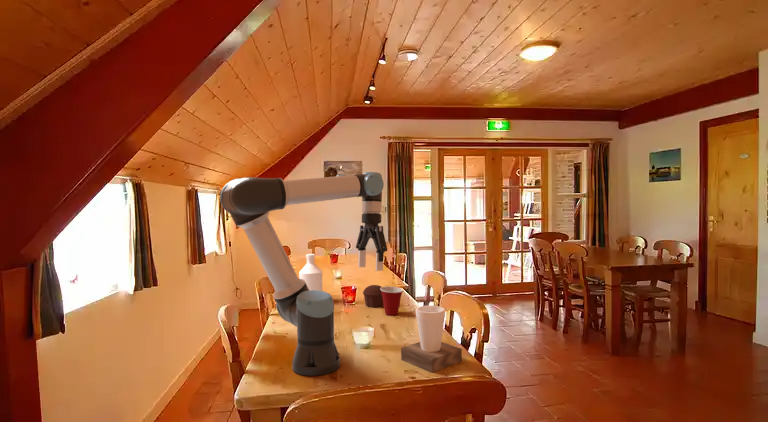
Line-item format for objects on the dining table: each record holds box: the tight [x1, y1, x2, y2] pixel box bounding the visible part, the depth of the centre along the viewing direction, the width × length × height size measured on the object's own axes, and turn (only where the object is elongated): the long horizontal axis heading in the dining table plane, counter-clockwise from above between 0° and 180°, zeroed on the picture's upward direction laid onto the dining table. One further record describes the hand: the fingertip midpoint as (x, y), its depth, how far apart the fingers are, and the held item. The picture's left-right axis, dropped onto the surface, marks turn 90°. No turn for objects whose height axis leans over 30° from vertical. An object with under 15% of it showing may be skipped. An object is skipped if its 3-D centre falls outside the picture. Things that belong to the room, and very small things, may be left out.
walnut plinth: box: [400, 341, 463, 373], centre depth 141 cm, size 14×14×4 cm
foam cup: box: [415, 305, 446, 352], centre depth 141 cm, size 10×9×13 cm
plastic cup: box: [380, 286, 404, 317], centre depth 198 cm, size 11×11×12 cm
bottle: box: [298, 253, 323, 291], centre depth 222 cm, size 12×12×25 cm
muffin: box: [362, 284, 384, 309], centre depth 214 cm, size 12×11×10 cm
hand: (370, 269), depth 163 cm, fingers open, 13 cm apart
